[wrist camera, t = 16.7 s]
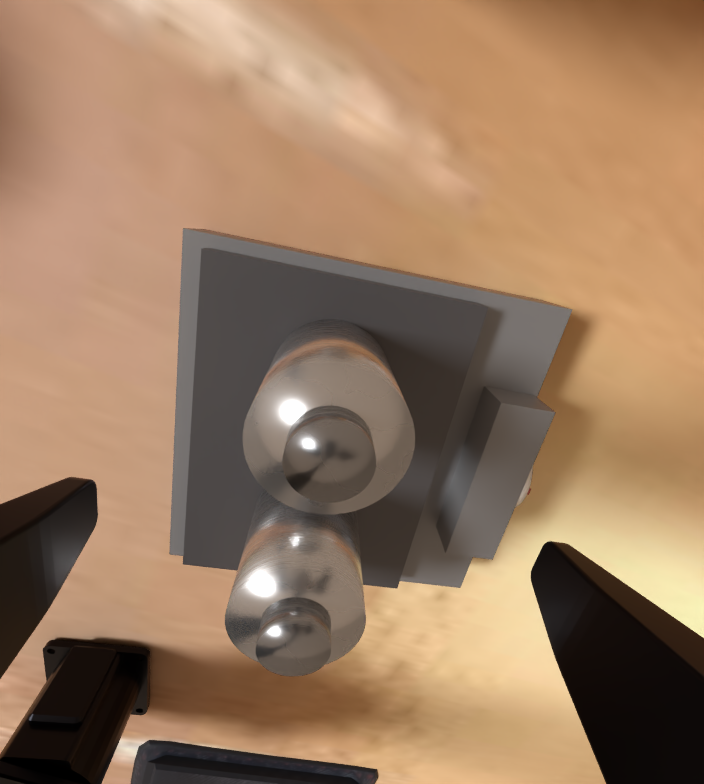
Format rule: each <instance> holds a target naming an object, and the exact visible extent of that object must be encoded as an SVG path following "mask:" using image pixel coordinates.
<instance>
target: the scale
mask: <svg viewBox="0 0 704 784" xmlns="http://www.w3.org/2000/svg"><path fill="white" fill-rule="evenodd" d="M571 312H572V309H568V308H565V307H562V306H559V305H556V304H552V303H549V302H546V301H543V300H538V299H533V298H528V297H524V296H519V295H514V294H509V293H505V292H500V291H495V290H490V289H486V288H481V287H476V286H471V285H467V284H462V283H457V282H452V281H447V280H443V279H438V278H433V277H428V276H424V275H419V274H414V273H409V272H405V271H400V270H395V269H390V268H386V267H381V266H376V265H371V264H367V263H362V262H357V261H352V260H348V259H343V258H338V257H333V256H329V255H324V254H319V253H314V252H310V251H305V250H300V249H295V248H291V247H286V246H281V245H276V244H272V243H267V242H262V241H257V240H253V239H248V238H243V237H238V236H234V235H229V234H224V233H219V232H215V231H210V230H205V229H189V228H183V244H182V267H181V291H180V315H179V339H178V363H177V387H176V411H175V435H174V459H173V482H172V506H171V530H170V554H171V555H179V556H183V564H185V565H194V566H203V567H211V568H220V569H229V570H238V567H239V563H240V560H241V556H242V553H243V549H244V546H245V542H246V539H247V535H248V532H249V528H250V525H251V521H252V518H253V514H254V511H255V507H256V503H257V501H258V498H259V496H260V495H261V493H262V492H263V491H264V488H263V487H262V486H261V485H260V484H259V483H258V481H257V480H256V479H255V477H254V476H253V474H252V472H251V471H250V469H249V466H248V464H247V462H246V458H245V455H244V450H243V428H244V423H245V419H246V417H247V414H248V411H249V409H250V407H251V405H252V403H253V401H254V398H255V396H256V394H257V392H258V390H259V388H260V386H261V384H262V382H263V380H264V377H265V375H266V373H267V371H268V369H269V367H270V365H271V363H272V361H273V359H274V357H275V354H276V352H277V350H278V349H279V347H280V345H281V344H282V342H283V341H284V340H285V339H286V338H287V337H288V336H289V335H290V334H291V333H292V332H293V331H295V330H296V329H298V328H299V327H301V326H303V325H305V324H308V323H310V322H314V321H317V320H324V319H336V320H343V321H346V322H350V323H352V324H355V325H357V326H359V327H361V328H362V329H364V330H365V331H367V332H368V333H369V334H370V335H371V336H372V337H373V338H374V339H375V340H376V341H377V342H378V344H379V345H380V346H381V348H382V350H383V352H384V354H385V356H386V359H387V361H388V363H389V365H390V368H391V370H392V372H393V375H394V377H395V379H396V382H397V384H398V386H399V388H400V391H401V393H402V395H403V398H404V400H405V402H406V404H407V407H408V409H409V412H410V414H411V417H412V420H413V424H414V429H415V448H414V452H413V457H412V460H411V463H410V465H409V467H408V469H407V471H406V473H405V475H404V476H403V478H402V479H401V480H400V482H399V483H398V484H397V485H396V486H395V487H394V489H393V490H392V491H390V492H389V493H388V494H387V495H386V496H384V497H383V498H381V499H380V500H378V501H377V502H375V503H373V504H371V505H369V506H367V507H365V508H362V509H359V510H356V512H357V523H358V535H359V546H360V558H361V569H362V581H363V585H371V586H380V587H389V588H397V587H398V584H399V581H405V582H414V583H423V584H431V585H440V586H449V587H457V588H460V587H461V585H462V582H463V580H464V577H465V575H466V572H467V570H468V567H469V565H470V563H471V560H472V558H473V557H476V558H484V559H492V560H493V557H494V555H495V553H496V550H497V548H498V546H499V543H500V541H501V539H502V536H503V534H504V532H505V529H506V527H507V525H508V522H509V520H510V518H511V515H512V513H513V511H514V508H515V507H517V506H518V505H520V504H521V503H522V502H523V500H524V499H525V497H526V495H529V493H530V490H531V489H530V484H531V480H532V470H533V464H534V462H535V459H536V457H537V455H538V452H539V450H540V448H541V445H542V443H543V441H544V438H545V436H546V434H547V431H548V429H549V427H550V424H551V422H552V420H553V417H554V415H555V413H556V412H554V411H553V410H552V409H551V408H549V407H548V406H547V405H546V404H544V403H543V402H542V401H541V400H539V399H538V398H537V396H538V394H539V391H540V389H541V386H542V384H543V381H544V379H545V376H546V374H547V371H548V369H549V366H550V364H551V362H552V359H553V357H554V354H555V352H556V349H557V347H558V344H559V342H560V339H561V337H562V334H563V332H564V329H565V327H566V324H567V322H568V319H569V317H570V314H571Z"/></svg>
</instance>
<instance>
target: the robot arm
mask: <svg viewBox="0 0 704 784" xmlns="http://www.w3.org/2000/svg"><path fill="white" fill-rule="evenodd" d="M97 517H98V510H97V488H96V484H95V482H94V481H93V480H90V479H83V478H76V477H69V478H66V479H63V480H61V481H58V482H55V483H53V484H50V485H48V486H45V487H43V488H40V489H38V490H35V491H33V492H30V493H28V494H25V495H23V496H20V497H18V498H15V499H13V500H10V501H8V502H5V503H3V504H0V679H1V677H2V676H3V674H4V673H5V671H6V670H7V669H8V667H9V666H10V664H11V663H12V661H13V660H14V659H15V657H16V656H17V654H18V653H19V651H20V650H21V649H22V647H23V646H24V644H25V643H26V641H27V640H28V638H29V637H30V636H31V634H32V633H33V631H34V630H35V628H36V627H37V626H38V624H39V623H40V621H41V620H42V618H43V617H44V615H45V614H46V612H47V611H48V609H49V607H50V606H51V604H52V602H53V601H54V599H55V597H56V596H57V594H58V592H59V590H60V589H61V587H62V585H63V583H64V582H65V580H66V578H67V576H68V574H69V573H70V571H71V569H72V567H73V566H74V564H75V562H76V560H77V558H78V557H79V555H80V553H81V551H82V549H83V548H84V546H85V544H86V542H87V541H88V539H89V537H90V535H91V533H92V532H93V530H94V528H95V525H96V522H97ZM531 582H532V586H533V589H534V592H535V595H536V598H537V602H538V605H539V608H540V611H541V614H542V618H543V621H544V624H545V627H546V631H547V634H548V637H549V640H550V643H551V646H552V649H553V652H554V655H555V658H556V661H557V664H558V666H559V669H560V671H561V674H562V676H563V679H564V681H565V684H566V686H567V689H568V691H569V694H570V696H571V698H572V701H573V703H574V706H575V708H576V711H577V713H578V716H579V718H580V720H581V723H582V725H583V728H584V730H585V733H586V735H587V738H588V740H589V743H590V745H591V747H592V750H593V752H594V755H595V757H596V760H597V762H598V765H599V767H600V770H601V772H602V774H603V777H604V779H605V782H606V784H704V638H703V637H701V636H700V635H698V634H697V633H695V632H694V631H693V630H691V629H690V628H688V627H687V626H685V625H684V624H682V623H681V622H680V621H678V620H677V619H675V618H674V617H672V616H671V615H669V614H668V613H667V612H665V611H664V610H662V609H661V608H659V607H658V606H657V605H655V604H654V603H652V602H651V601H649V600H648V599H646V598H645V597H644V596H642V595H641V594H639V593H638V592H636V591H635V590H633V589H632V588H631V587H629V586H628V585H626V584H625V583H623V582H622V581H620V580H619V579H618V578H616V577H615V576H613V575H612V574H610V573H609V572H607V571H606V570H605V569H603V568H602V567H600V566H599V565H597V564H596V563H595V562H593V561H592V560H590V559H589V558H587V557H586V556H584V555H583V554H582V553H580V552H579V551H577V550H576V549H574V548H573V547H571V546H570V545H568V544H565V543H559V542H552V541H550V542H547V543H545V544H544V545H543V547H542V549H541V551H540V553H539V555H538V557H537V560H536V562H535V564H534V566H533V568H532V571H531ZM43 655H44V664H45V672H46V680H47V682H46V683H45V685H44V687H43V688H42V690H41V691H40V693H39V694H38V696H37V698H36V699H35V701H34V702H33V704H32V705H31V707H30V708H29V710H28V712H27V713H26V715H25V716H24V718H23V719H22V721H21V723H20V724H19V726H18V727H17V729H16V730H15V732H14V733H13V735H12V737H11V738H10V740H9V741H8V743H7V744H6V746H5V748H4V749H3V751H2V752H1V754H0V784H101V783H102V781H103V778H104V776H105V774H106V771H107V769H108V767H109V764H110V762H111V759H112V757H113V755H114V752H115V750H116V748H117V745H118V743H119V740H120V738H121V736H122V733H123V731H124V729H125V726H126V724H127V721H128V719H129V717H130V714H132V715H143V714H145V713H146V712H147V710H148V707H149V697H150V651H149V650H148V649H146V648H140V647H128V646H117V645H106V644H94V643H83V642H71V641H60V640H51V641H49V642H48V643H47V644H46V645H45V647H44V648H43Z"/></svg>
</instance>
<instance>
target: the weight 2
mask: <svg viewBox="0 0 704 784" xmlns="http://www.w3.org/2000/svg"><path fill="white" fill-rule="evenodd" d="M365 623H366V615H365V603H364V592H363V581H362V569H361V558H360V546H359V535H358V523H357V512H356V511H352V512H348V513H342V514H327V515H326V514H314V513H309V512H304V511H301V510H298V509H295V508H292V507H290V506H288V505H286V504H284V503H282V502H280V501H279V500H277V499H276V498H274V497H273V496H272V495H270V494H269V493H268V492H267V491H266V490H265V489H264V491H263V492H262V493H261V495H260V496H259V498H258V501H257V503H256V507H255V511H254V514H253V518H252V521H251V525H250V528H249V532H248V535H247V539H246V542H245V546H244V549H243V553H242V556H241V560H240V563H239V567H238V571H237V574H236V578H235V581H234V585H233V588H232V592H231V595H230V599H229V602H228V606H227V609H226V614H225V626H226V630H227V633H228V636H229V637H230V639H231V641H232V642H233V644H234V645H235V646H236V647H237V648H238V649H239V650H240V651H241V652H242V653H243V654H245V655H246V656H248V657H249V658H251V659H253V660H255V661H257V662H259V663H260V664H261V665H262V666H263V667H264V668H266V669H267V670H269V671H271V672H273V673H276V674H279V675H283V676H303V675H307V674H310V673H313V672H315V671H317V670H319V669H320V668H321V667H323V666H324V665H325V664H328V663H331V662H333V661H335V660H337V659H339V658H341V657H342V656H344V655H345V654H347V653H348V652H349V651H350V650H351V649H352V648H353V647H354V646H355V645H356V644H357V643H358V641H359V640H360V638H361V636H362V634H363V631H364V628H365Z"/></svg>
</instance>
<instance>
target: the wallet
mask: <svg viewBox="0 0 704 784" xmlns="http://www.w3.org/2000/svg"><path fill="white" fill-rule="evenodd" d="M377 779H378V774H377V769H371V768H365V767H358V766H351V765H344V764H336V763H328V762H320V761H311V760H303V759H295V758H286V757H278V756H270V755H262V754H255V753H248V752H241V751H234V750H226V749H219V748H212V747H205V746H198V745H191V744H185V743H178V742H171V741H157V740H149V741H147V742H145V743H144V744H142V745H141V746H139V748H138V752H137V755H136V758H135V762H134V767H133V773H132V778H131V784H375V782H376V780H377Z"/></svg>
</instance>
